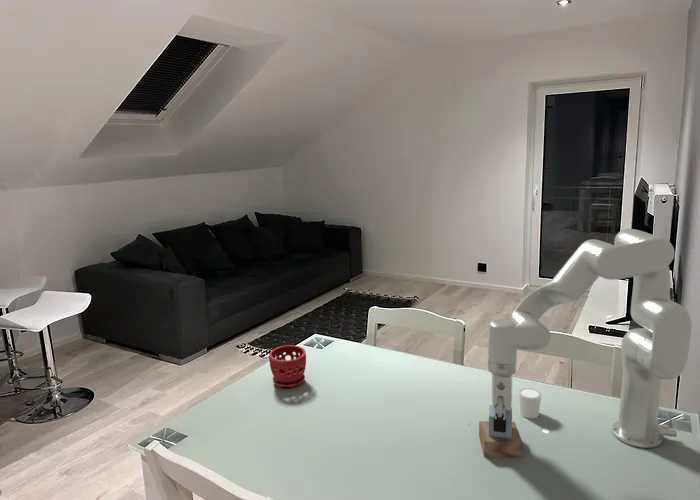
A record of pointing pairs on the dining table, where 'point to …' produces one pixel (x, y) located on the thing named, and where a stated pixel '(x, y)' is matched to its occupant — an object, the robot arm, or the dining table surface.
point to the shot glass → (529, 402)
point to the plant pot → (288, 366)
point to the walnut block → (500, 443)
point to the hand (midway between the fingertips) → (500, 421)
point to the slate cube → (508, 423)
